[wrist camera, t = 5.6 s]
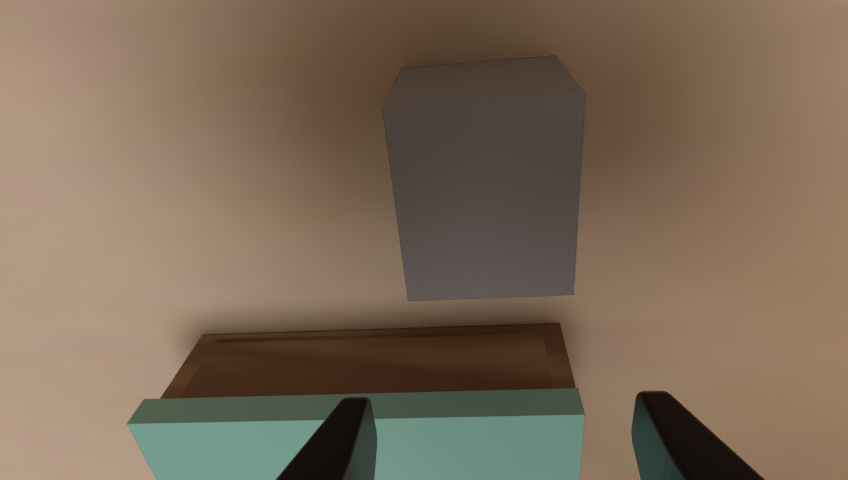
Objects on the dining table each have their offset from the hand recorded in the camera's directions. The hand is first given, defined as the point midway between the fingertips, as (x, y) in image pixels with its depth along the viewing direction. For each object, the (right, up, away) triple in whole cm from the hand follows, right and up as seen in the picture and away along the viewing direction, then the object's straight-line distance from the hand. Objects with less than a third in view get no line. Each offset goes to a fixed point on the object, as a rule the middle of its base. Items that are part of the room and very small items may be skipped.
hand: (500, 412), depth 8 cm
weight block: (+1, +6, +11) cm, 12 cm away
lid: (-3, -8, +14) cm, 17 cm away
